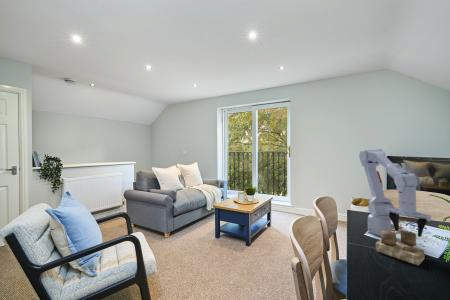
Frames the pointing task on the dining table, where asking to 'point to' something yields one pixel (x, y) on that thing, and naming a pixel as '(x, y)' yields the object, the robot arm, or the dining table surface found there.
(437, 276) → the dining table surface
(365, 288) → the dining table surface
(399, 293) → the dining table surface
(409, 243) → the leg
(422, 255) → the wooden toy block
